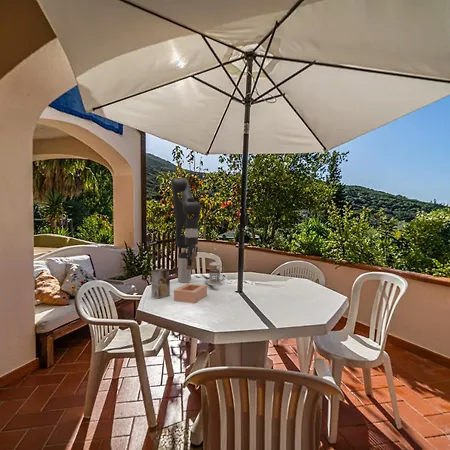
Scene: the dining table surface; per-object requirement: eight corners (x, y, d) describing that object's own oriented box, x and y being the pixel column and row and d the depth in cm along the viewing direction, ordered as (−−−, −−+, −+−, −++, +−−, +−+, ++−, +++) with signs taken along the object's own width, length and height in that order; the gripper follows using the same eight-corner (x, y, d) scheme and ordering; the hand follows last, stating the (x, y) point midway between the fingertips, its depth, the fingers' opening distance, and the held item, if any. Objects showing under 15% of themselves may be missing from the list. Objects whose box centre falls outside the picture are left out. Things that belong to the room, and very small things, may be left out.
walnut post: (189, 268, 189) (189, 251, 188) (195, 268, 188) (195, 251, 187) (186, 269, 185) (186, 252, 185) (192, 269, 184) (193, 252, 183)
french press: (205, 282, 226) (206, 247, 224) (220, 281, 231) (221, 247, 229) (210, 285, 217) (211, 249, 216) (226, 284, 222) (226, 248, 220)
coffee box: (162, 293, 195) (163, 267, 194) (170, 295, 191) (170, 269, 190) (151, 296, 188) (151, 270, 187) (158, 298, 184) (158, 271, 183)
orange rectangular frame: (187, 292, 198) (187, 283, 197) (206, 295, 194) (207, 285, 193) (173, 300, 181) (173, 290, 180) (194, 303, 177) (194, 292, 176)
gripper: (190, 235, 193) (190, 263, 194) (180, 236, 180) (179, 266, 181) (202, 235, 191) (201, 263, 192) (192, 237, 177) (191, 267, 178)
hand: (191, 265), depth 186 cm, fingers closed on walnut post, 4 cm apart
